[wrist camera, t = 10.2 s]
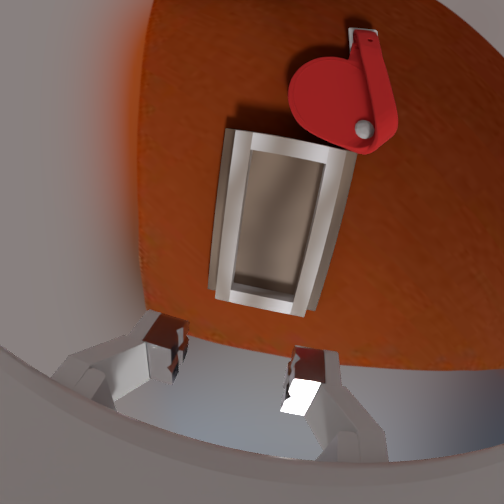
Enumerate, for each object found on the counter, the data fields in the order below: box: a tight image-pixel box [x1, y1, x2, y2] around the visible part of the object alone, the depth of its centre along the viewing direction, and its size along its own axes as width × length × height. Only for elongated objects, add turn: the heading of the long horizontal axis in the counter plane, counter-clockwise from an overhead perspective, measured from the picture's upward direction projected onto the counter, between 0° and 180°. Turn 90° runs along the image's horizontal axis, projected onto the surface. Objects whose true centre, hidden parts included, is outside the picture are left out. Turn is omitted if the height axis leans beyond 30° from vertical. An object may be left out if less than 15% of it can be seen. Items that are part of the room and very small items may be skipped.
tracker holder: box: [288, 28, 398, 154], centre depth 20 cm, size 12×4×10 cm
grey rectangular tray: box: [208, 128, 357, 317], centre depth 28 cm, size 12×17×3 cm
